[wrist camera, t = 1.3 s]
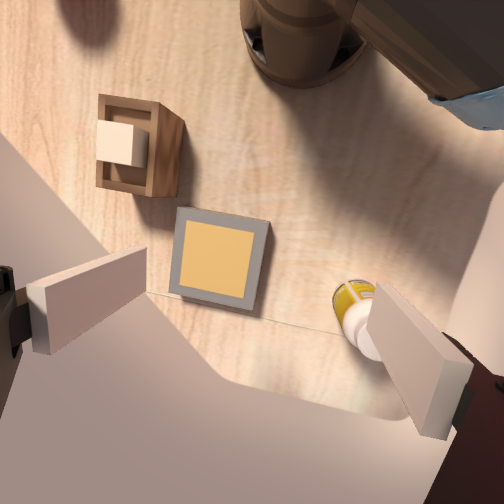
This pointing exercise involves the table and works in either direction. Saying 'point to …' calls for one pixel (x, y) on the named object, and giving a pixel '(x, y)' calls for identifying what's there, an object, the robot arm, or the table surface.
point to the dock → (217, 256)
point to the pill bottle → (356, 314)
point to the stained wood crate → (158, 152)
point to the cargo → (121, 143)
